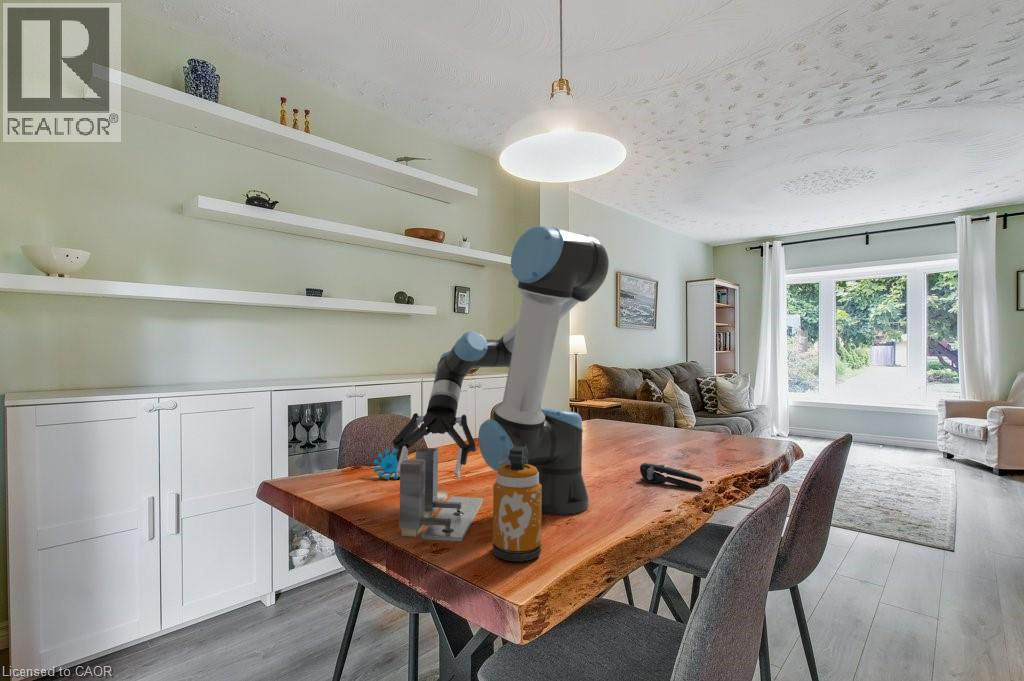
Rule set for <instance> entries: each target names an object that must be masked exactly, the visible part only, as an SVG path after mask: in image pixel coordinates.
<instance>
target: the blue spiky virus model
mask: <svg viewBox="0 0 1024 681" xmlns="http://www.w3.org/2000/svg"><path fill="white" fill-rule="evenodd" d="M397 452H398V449H395V448H393V449H392V452H391V453H390V450H389V449H384V454H385V457H383V454H382V452H381V453H379V454H377V455H376V456H377V459H375V460H373V465H375V466H374V468H373V471H374V473H377V477H378V478H379V479H380V478H382V477H383V476H384V475H385V476H384V480H386V479H387V480H386V481H389V480H390V479H391V478H390V477H391V475H393V476H392V478H393V480H398V479H399V475H398V473H397V471H396V470H397V466H398V463H399V462H398V461H397V459H396V456H397ZM389 453H390V454H389ZM378 459H379V460H380V461H381V462H380V461H379V460H378ZM407 459H409V457H408V456H407ZM380 471H381V472H380ZM386 474H387V475H386Z"/></svg>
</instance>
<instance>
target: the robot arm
mask: <svg viewBox="0 0 1024 681" xmlns="http://www.w3.org/2000/svg"><path fill="white" fill-rule="evenodd" d="M510 257H511V258H510V267H511V268H512V269H511V273H512V274H513V277H514V278H515V279H516V280H517V281H518V284H517V290H518V291H519V293H520V294H521V296H522V301H521V305H520V310H519V314H518V320H517V321H516V322H515V323H514V324H512V326H510V328H509V329H508V330H507V331H506V332H505V333H504V334H503V335H502V336H501V337H500V338H499V339H486V337H484V335H482V333H477V332H476V331H473V330H471V331H466V332H464V333H463V334H462V335H461V337H459V339H458V340H457V341H456V342H455V344H454V345H453V347H452V348H451V350H448V351H447V352H444V353H442V354H441V356H440V358H439V361H438V363H437V365H436V366H437V367H436V372H435V376H434V379H433V384H432V389H431V392H430V396H429V401H428V405H427V409H426V413H425V414H424V415H423V416H422V415H419V413H416V412H415V413H413V415H412V417H411V420H409V422H408V423H407V424H406V425H405V426H404V427H403V429H402V430H401V431H400V432H399V433H398V434H397V435H396V436H395V438H394V439H393V440H392V444H393V447H394V449H396V450H397V453H396V455H397V456H396V459H397V461H398V462H399V463H398V466H397V470H396V471H397V475H398V478H400V463H402V462H403V461H405V460H406V459H407V457H408V455H409V449H410V448H411V447H412V446H413V445H415V444H416V443H418V442H419V441H420V440H421V439H422V438H423V437H425V436H428V435H429V434H433V435H434V434H441V435H444V434H445V433H447V434H448V435H449V436H450V438H452V440H453V441H454V442H455V444H456V445H457V447H458V451H457V457H456V464H455V468H454V476H455V478H456V480H460V477H461V472H462V465H464V466H465V465H467V460H468V454H469V453H471V452H472V453H474V452H476V451H477V447H476V443H475V440H474V437H473V436H472V433H471V431H470V428H469V425H468V419H467V415H466V414H462V415H461V416H457V413H458V406H459V401H460V395H461V390H462V386H463V381H464V378H466V377H467V375H468V374H469V373H470V372H471V371H472V370H473V369H475V368H508V371H507V375H506V376H507V377H506V382H505V389H504V392H503V398H502V400H501V401H500V402H498V404H496V405H495V406H494V410H493V413H492V417H491V418H489V419H487V420H484V422H483V423H481V424H480V426H479V429H478V438H477V439H478V445H479V450H480V454H481V456H482V459H483V461H484V462H485V463H486V465H487V466H488V467H489V468H490V469H491V470H493V471H495V472H497V471H498V468H499V467H500V466H502V465H505V464H511V463H510V460H509V461H507V462H505V463H502V464H499V462H500V461H502V460H504V459H506V458H508V455H509V454H510V449H512V448H513V446H514V443H515V445H516V446H519V447H525V443H526V445H527V449H528V465H532V466H534V467H536V468H537V470H538V472H539V483H540V484H541V485H542V504H541V514H542V513H543V514H548V515H573V514H574V515H576V514H580V513H582V512H584V511H586V510H588V509H589V503H590V502H589V500H590V499H589V497H590V496H589V493H588V490H587V487H586V482H585V481H584V476H583V473H582V472H583V470H582V467H583V466H582V465H583V464H582V463H583V461H582V460H583V431H584V429H583V420H582V417H581V415H580V414H579V413H578V412H575V411H570V410H563V409H556V408H555V409H552V408H544V407H541V406H542V402H543V397H544V393H545V388H546V383H547V378H548V375H549V374H548V373H549V371H550V370H549V369H550V364H551V360H552V355H553V351H554V346H555V343H556V342H555V341H556V336H557V332H558V328H559V323H560V320H561V319H562V318H564V317H565V316H566V315H567V314H568V313H569V312H570V311H571V310H572V309H573V308H574V307H575V306H577V304H579V303H584V302H586V301H588V300H589V299H590V298H591V297H593V295H594V294H596V292H598V290H599V289H600V288H601V287H602V285H603V284H604V283H605V280H606V278H607V275H608V271H609V267H610V265H609V264H610V262H609V261H610V260H609V256H608V251H606V248H605V247H604V245H603V244H602V243H601V242H600V241H599V240H598V239H597V238H595V237H593V236H590V235H588V234H583V233H579V232H578V233H577V232H573V231H569V230H564V229H560V228H556V227H554V226H551V227H550V226H541V225H540V226H539V225H537V226H533V227H530V228H528V229H527V230H525V231H524V233H522V234H521V235H520V236H519V237H518V239H517V240H516V242H515V243H514V247H513V249H512V251H511V256H510ZM422 422H423V423H422ZM456 424H458V425H459V426H460V427H461V428H462V432H463V433H464V436H465V438H466V441H467V442H465V441H464V439H463V438H462V436H460V435H459V433H458V432H457V431H456V429H455V428H454V426H455V425H456ZM418 426H419V427H418ZM526 457H527V454H526ZM507 460H508V459H507ZM505 461H506V460H505ZM503 462H504V461H503ZM525 464H526V462H525Z"/></svg>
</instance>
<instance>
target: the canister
mask: <svg viewBox="0 0 1024 681" xmlns="http://www.w3.org/2000/svg"><path fill="white" fill-rule="evenodd" d="M526 454H527V457H526ZM507 459H508V460H507ZM505 460H506V461H505ZM509 460H510V463H511V464H505V465H502V466H500V467H499V468H498V471H496V478H495V479H496V480H495V481H496V482H494V483H493V486H492V487H493V492H492V494H493V496H492V498H493V499H492V552H493V554H494V556H496V557H498V558H500V559H502V560H506V561H509V562H516V561H519V562H525V561H524V560H526V561H529V560H533V559H536V558H538V557H539V555H540V554H541V552H542V544H541V543H542V512H541V504H542V485H541V484H540V483H539V472H538V470H537V468H536V467H534V466H532V465H528V449H527V445H526V443H525V447H519V446H516V445H515V443H514V446H513V448H512V449H510V454H509V455H508V458H506V459H504V460H502V461H500V462H499V464H502V463H505V462H507V461H509ZM503 461H504V462H503ZM525 462H526V464H525Z"/></svg>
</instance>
